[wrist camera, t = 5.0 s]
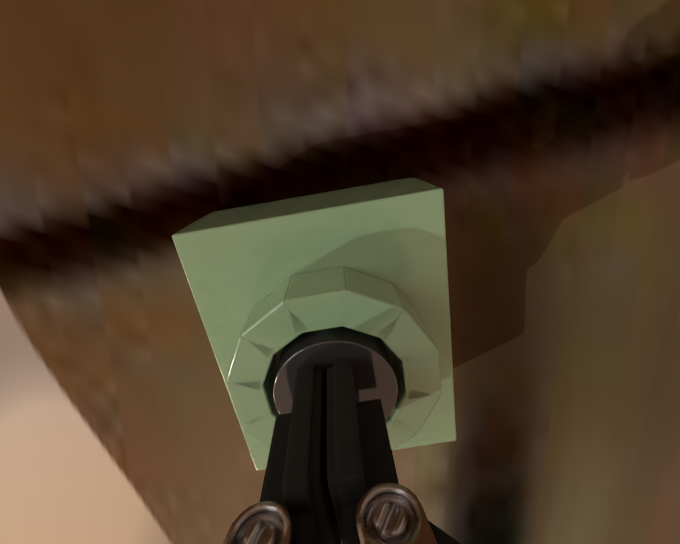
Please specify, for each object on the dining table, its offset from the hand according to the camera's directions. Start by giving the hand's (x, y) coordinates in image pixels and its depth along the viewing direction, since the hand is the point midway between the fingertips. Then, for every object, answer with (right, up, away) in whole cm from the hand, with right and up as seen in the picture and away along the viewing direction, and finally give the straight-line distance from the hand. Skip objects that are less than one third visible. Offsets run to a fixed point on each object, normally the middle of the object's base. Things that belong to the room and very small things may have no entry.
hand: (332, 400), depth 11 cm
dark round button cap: (0, +1, +2) cm, 2 cm away
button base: (0, +2, +6) cm, 6 cm away
